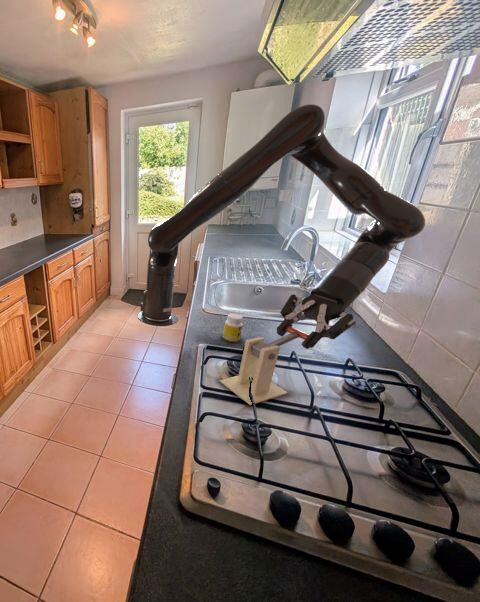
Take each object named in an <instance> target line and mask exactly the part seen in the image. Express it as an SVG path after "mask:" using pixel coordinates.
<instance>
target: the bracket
mask: <svg viewBox="0 0 480 602" xmlns="http://www.w3.org/2000/svg"><path fill="white" fill-rule="evenodd" d="M261 342H263V343H265V338H264V337H262V336H258V337H254V338H249V339H245V342H244V348H243V353H242V357H241V361H240V367H239V372H238V375H235V376H231V377H227V378H223V379H220V380H219V382H220V383H221V384H222V385H224V386H225V387H226V388H227V389H229V390H230V391H231V392H232V393H234V394H235V395H236V396H237V397H239V398H240V399H241V400H243V401H244V402H245V403H247V405H249V406H253V405H252V402H251V400H250V397H249V387H250V380H249V377H250V375H251V377H252V378H253V380H252V383H251V390H252V391H251V393H252V395H253V397H254V400H255V404H254V405H256V404H259V403H262V402H266V401H268V400H269V401H270V400H271V399H275V398H278V397H282V396H284V395H287V394H288V391H286V390H285V389H283V388H281V386H279V385H277V384H276V383H274V382H273V377H274V373H275V368H276V366H277V361H278V357H279V354H280V349H281V346H277V345H275V346H271V347H267V348H263V349H261V352H260V356H259V358H257V357H255V356H254V355H252V346H254V345H256V344H258V343H261Z"/></svg>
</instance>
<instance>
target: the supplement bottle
mask: <svg viewBox="0 0 480 602" xmlns="http://www.w3.org/2000/svg"><path fill="white" fill-rule="evenodd" d="M242 322H243V316H242V315H241V314H238V313H229V314H228V315H227V320H225V322H224V328H223V334H222V339H223V340H224V341H227V342H231V343H237V342H240V341H241V335H242V332H243V331H242V330H243V326H244V325H243V323H242Z"/></svg>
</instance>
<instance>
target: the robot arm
mask: <svg viewBox="0 0 480 602" xmlns="http://www.w3.org/2000/svg"><path fill="white" fill-rule="evenodd" d="M325 122H326V115H325V112H324V109H323V108H322V107H321V106H319V105H317V104H311V103H310V104H304V105H301V106H299V107H296V108H294V109H292V110H291V111H290V112H288V113H287V114H286V115H284V117H282V118H281V119H280V121H278V123H276V124H275V125H274V126H273V128H271V129H270V131H268V132H267V133H266V134H265V135H264V136H263V137H262V138H261V139H260V140H259V141H257V143H255V144H254V145H253V146H252V147H250V148H249V150H247V151H245V152H244V153H243V154H242V155H240V156H239V157H238V158H236V160H234V161H233V162H232V163H231V164H230V165H228V166H227V167H226V168H225V169H223V170H221V172H219V173H218V174H217V175H215V176H214V177H213V178H212V179H211V180H209V181H208V182H207V183H206V184H205V185H203V186H202V188H201V189H199V190H198V191H197V192H196V193H195V194H194V195H193V197H192V198H191V199H189V201H188V202H187V203H186V204H185V205H184V206H183V207H182V208H181V209H180V210H178V211H177V212H176V213H174V214H173V215H172V216H170V217H169V218H167V219H166V220H164V221H162V222H159V223H157V224H155V226H154V227H152V229H150V231H149V234H148V237H147V245H148V247H149V257H148V261H147V268H146V269H147V270H146V286H145V287H146V288H145V290H144V291H143V296H142V302H141V303H140V312H141V311H142V316H144V317H145V318H146V319H147V320H149V321H153V322H167V321H169V320H170V319H171V312H173V311H172V310H173V300H174V291H175V290H174V289H175V280H176V271H177V270H176V269H177V262H178V257H179V256H178V255H179V246H180V243H181V242H182V241H183V240H185V239H186V238H187V237H188V236H189V235H190V234H191V233H193V232H194V231H195V230H196V229H197V228H199V227H200V226H202V225H204V224H205V223H208V221H210V220H212V219H213V218H215V217H216V216H218V215H219V214H221V213H222V212H224V211H225V210H227V209H228V208H229V207H231V206H232V205H233V204H235V203H236V202H238V201H239V200H240V199H241V198H242V197H244V196H245V195H246V194H247V193H248V192H249V191H250V190H251V189H252V188H253V187H254V186H255V185H256V184H257V183H258V182H259V180H260V179H261V178H262V177H263V176H264V174H265V173H266V172H267V171H269V169H271V167H273V166H274V165H275V164H277V163H278V162H279V161H280V160H282V159H283V158H285V157H286V156H287V155H289V156H290V157H292V158H293V159H295V160H296V161H297V162H299V163H301V164H302V165H303V166H304V167H305V168H307V169H308V170H309V171H310V172H312V173H313V174H314V175H315V176H316V177H317V178H318V179H319V180H320V181H321V182H322V184H323V185H324V186H326V188H327V189H328V190H329V191H330V193H332V194H333V196H334V197H335V198H336V199H337V200H338V201H339V202H340V203H341V204H342V205H343V207H345V209H347V211H348V212H350V213H351V214H352V215H354V216H363V215H368V216H369V217H370V218H372V219H374V221H372V222H371V223H370V224H368V226H366V227H365V229H364V230H363V231H362V232H361V233H360V235H359V237H357V240H356V241H355V243H354V245H353V246H352V247H351V248H350V249H349V250H348V251H347V252H346V253H345V255H344V256H343V257H341V259H340V260H339V261H338V262H337V263H336V264H335V265H333V266H332V267H331V268H330V269H329V270H328V271H327V272H326V273H325V275H324V276H323V277H322V278H321V279H320V280H319V282H318V283H317V284H315V286H314V287H313V288H312V290H311V291H310V293H309V294H308V295H306V296H304V297H299V296H296V294H291V295H290V296H289V297H288V299H287V300H286V302H285V304H284V305H283V307H282V309H281V310H280V315H281V316H282V318H283V321H282V322H281V323H280V324H279V325H278V326H277V327H276V334H278V336H279V337H284V336H286V334H287V333H288V332H287V331H286V330H285V329H286V327H287V326H291V327H293V325H294V324H296V323H298V322H299V321H305V320H307V319H308V320H312V321H315V322H316V326H315V329H314V331H311V332H310V333H309V336H308V337H307V338H306V339H305V340H304V339H303V341H302V342H301V345H302V347H303V348H304V349H306V350H309V349H312V348H314V347H315V346H316V345H317V344H318V343H319V342H320V340H321V339H323V338H327V339H330V340H335V339H336V338H338V337H339V336H341V335H342V334H343V333H345V332H346V331H347V330H349V329H350V328H351V327H352V326H354V325H355V324H356V323H357V321H356V318H355V316H354V315H353V314H352V313H346V312H345V311H346V310H347V309H348V308H349V307H350V306H351V305H352V304H353V303H354V302H355V301H356V300H357V298H358V297H359V296H361V294H362V293H364V291H365V290H366V288H367V287H368V286H369V285H370V283H371V282H372V280H373V279H374V278H375V277H376V276H377V275H378V273H379V272H380V271H381V270H382V269H384V267H385V266H386V264H387V263H388V262H389V259H390V252H391V251H392V250H393V249H394V248H395V247H397V246H398V245H399V244H401V243H403V242H405V241H408V240H409V239H413V238H414V237H415V236H417V235H419V234H420V233H421V232H422V231H423V230H424V229H425V227H426V218H425V215H424V213H423V212H422V211H421V209H419V208H418V207H417V206H416V205H414V204H412V203H411V202H409V201H408V200H406V199H404V198H402V197H400V196H399V195H396V194H394V193H392V192H390V191H388V190H386V189H385V188H384V187H383V185H382V184H380V183H379V181H378V180H376V179H375V177H373V176H372V174H370V172H368V171H367V170H366V169H364V168H363V167H362V166H360V164H359V165H358V164H357V163H356V162H354V161H352V160H351V159H349V158H347V157H345V156H344V155H342V154H341V153H340V152H339V151H338V150H336V149H335V147H334V146H333V145H332V144H331V142H330V141H329V140H328V138H327V136H326V135H325V133H324V128H325V124H326V123H325ZM300 305H301V306H300ZM336 319H338V321H336V322H335V323H333V324H332V325H331V326H330V322H331V321H332V320H336Z"/></svg>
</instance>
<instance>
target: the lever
mask: <svg viewBox="0 0 480 602" xmlns="http://www.w3.org/2000/svg"><path fill="white" fill-rule="evenodd" d="M285 330H286V331H287V332H286V333H288V334H287V335H286V334H285V335H284V336H281V337H280V338H277V339H275V340H273V341H271V342H268V343H265V342H261V343H258V344H256V345H254V346H252V355H254V356H255V357H257V358H259V356H260V352H261V349H263V348H267V347H271V346H275V345H277V346H279V347H281V346H283V345H285V344H287V343H290V342H292V341H294V340H296V339H298V338H300V339H302V340H303V341H304V340H305V339H306V338H307V337H308V336H309V335H310V333H309V334H308V333H306V332H304V331H302V330H300V329H297V328H295V327H293V326H292V327H291V326H287V327H286V329H285Z"/></svg>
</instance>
